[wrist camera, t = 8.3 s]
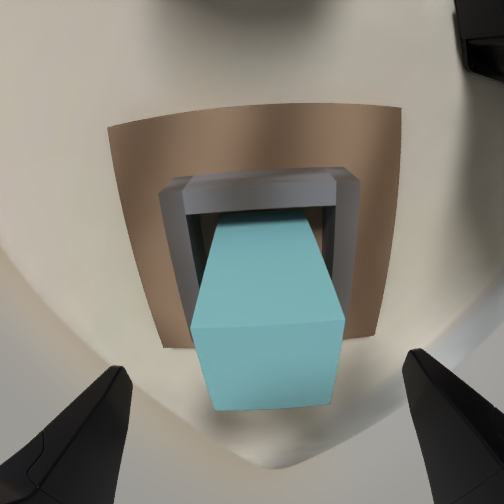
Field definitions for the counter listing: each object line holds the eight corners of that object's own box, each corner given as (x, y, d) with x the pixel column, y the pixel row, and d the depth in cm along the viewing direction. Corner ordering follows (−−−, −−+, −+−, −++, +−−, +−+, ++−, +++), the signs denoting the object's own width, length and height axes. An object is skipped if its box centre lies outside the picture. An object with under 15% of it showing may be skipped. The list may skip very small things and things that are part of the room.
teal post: (303, 209, 15) (345, 319, 7) (302, 279, 16) (330, 404, 9) (219, 214, 15) (190, 328, 8) (229, 283, 17) (214, 410, 10)
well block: (392, 106, 13) (427, 112, 10) (370, 325, 19) (385, 362, 16) (115, 125, 13) (81, 135, 10) (166, 337, 20) (155, 375, 17)
